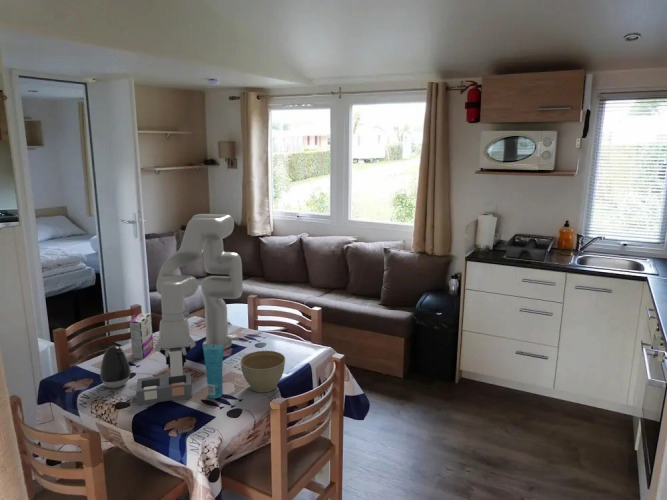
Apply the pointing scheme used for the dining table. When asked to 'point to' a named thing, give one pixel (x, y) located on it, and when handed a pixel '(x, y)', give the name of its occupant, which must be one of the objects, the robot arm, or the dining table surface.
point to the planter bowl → (263, 369)
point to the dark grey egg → (115, 368)
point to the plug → (176, 362)
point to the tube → (214, 369)
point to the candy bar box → (141, 335)
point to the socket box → (163, 388)
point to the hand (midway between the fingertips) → (176, 364)
